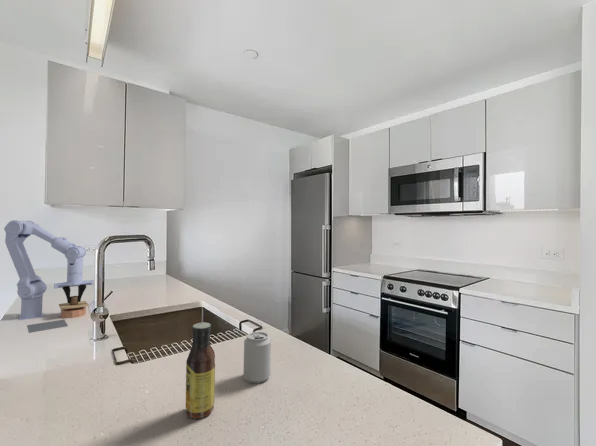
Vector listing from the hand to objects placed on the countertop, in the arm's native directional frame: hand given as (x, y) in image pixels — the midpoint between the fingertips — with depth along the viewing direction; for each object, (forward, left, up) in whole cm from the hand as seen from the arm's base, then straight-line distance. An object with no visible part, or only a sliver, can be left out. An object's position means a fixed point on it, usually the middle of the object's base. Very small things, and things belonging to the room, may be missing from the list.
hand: (73, 302), depth 138 cm
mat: (+11, -10, -6) cm, 16 cm away
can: (+103, +28, -7) cm, 107 cm away
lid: (0, 0, -2) cm, 2 cm away
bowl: (0, 0, -6) cm, 6 cm away
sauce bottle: (+107, +9, -7) cm, 108 cm away
